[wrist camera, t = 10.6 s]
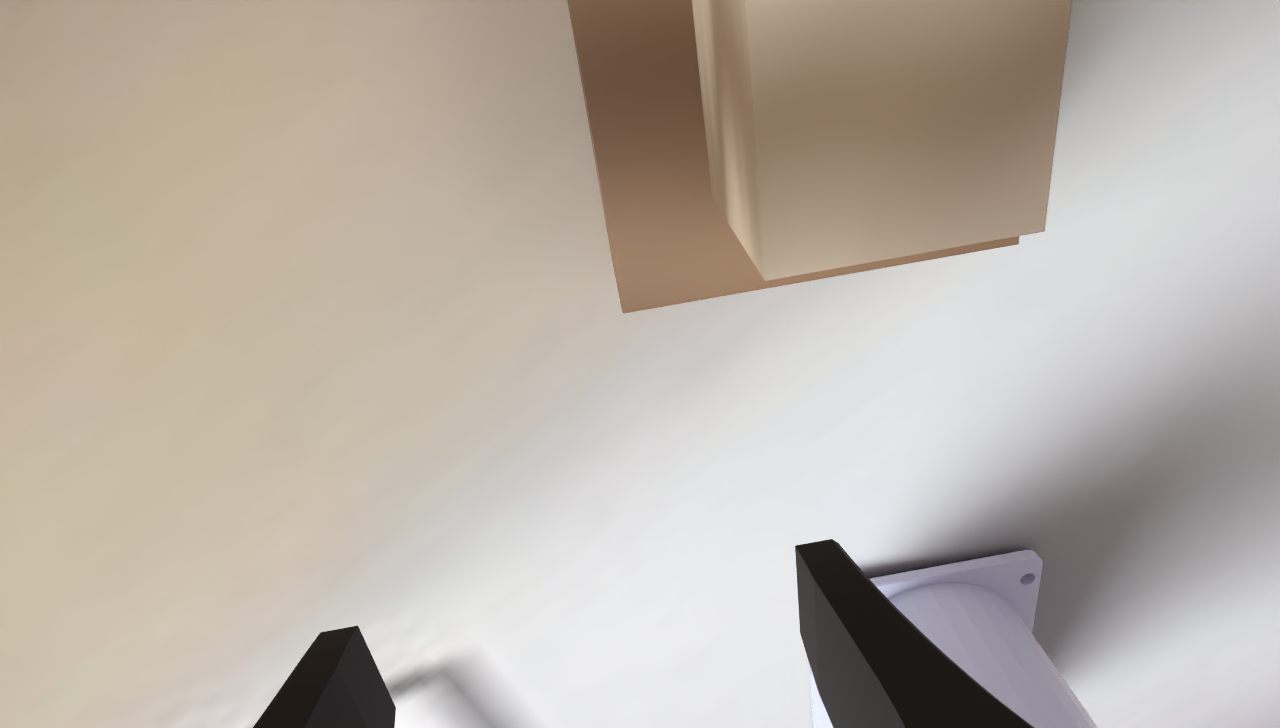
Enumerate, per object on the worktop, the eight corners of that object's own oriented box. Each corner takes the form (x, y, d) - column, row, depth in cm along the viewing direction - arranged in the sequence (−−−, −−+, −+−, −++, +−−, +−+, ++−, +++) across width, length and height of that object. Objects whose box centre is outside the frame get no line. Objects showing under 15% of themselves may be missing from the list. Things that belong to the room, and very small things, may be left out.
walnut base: (956, 204, 20) (1019, 244, 17) (613, 264, 20) (622, 313, 17) (983, -227, 15) (1071, -262, 13) (540, -155, 15) (539, -176, 13)
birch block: (923, 160, 16) (1044, 231, 12) (712, 198, 16) (764, 281, 12) (932, -86, 14) (1083, -98, 10) (686, -45, 14) (742, -40, 10)
